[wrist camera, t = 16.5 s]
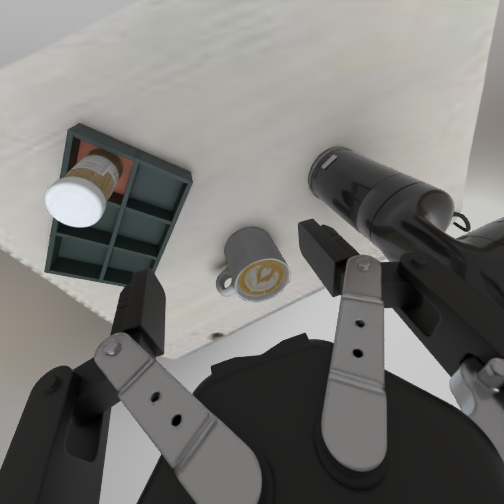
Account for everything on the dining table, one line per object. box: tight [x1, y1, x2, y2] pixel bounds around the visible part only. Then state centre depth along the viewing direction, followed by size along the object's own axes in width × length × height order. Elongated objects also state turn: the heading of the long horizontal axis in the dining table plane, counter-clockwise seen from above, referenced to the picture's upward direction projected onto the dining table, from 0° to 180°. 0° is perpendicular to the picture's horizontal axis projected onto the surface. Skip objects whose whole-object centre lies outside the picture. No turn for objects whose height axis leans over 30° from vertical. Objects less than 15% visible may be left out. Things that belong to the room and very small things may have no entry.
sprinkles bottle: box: [44, 149, 123, 227], centre depth 27 cm, size 5×5×13 cm
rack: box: [44, 123, 193, 287], centre depth 36 cm, size 15×22×4 cm
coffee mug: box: [216, 227, 290, 302], centre depth 45 cm, size 13×10×10 cm
